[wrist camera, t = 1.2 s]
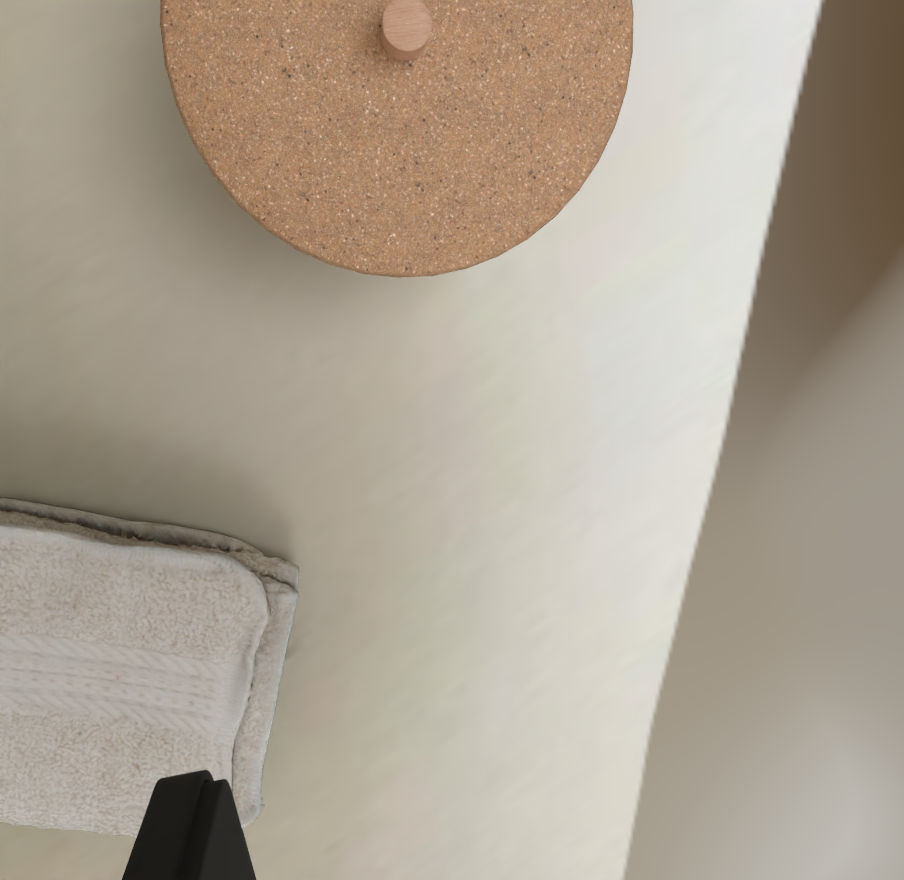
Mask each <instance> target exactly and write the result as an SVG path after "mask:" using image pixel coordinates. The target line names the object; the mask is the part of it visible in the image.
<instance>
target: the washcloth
mask: <svg viewBox="0 0 904 880" xmlns="http://www.w3.org/2000/svg"><path fill="white" fill-rule="evenodd" d="M298 582H299V567H298V566H296V565H295V564H294V563H292V562H291V561H284V560H282V559H280V558H278V557H274V558H268V557H266V556H265V555H264V554H263V553H262V552H260V551H258V550H257V549H256V548H255V547H253V546H251V545H249V544H247V543H245V542H243V541H240V540H237V539H235V538H233V537H227V536H225V535H223V534H218V533H213V532H209V531H203V530H197V529H192V528H187V527H180V526H174V525H171V524H159V523H151V522H133V521H127V520H124V519H119V518H114V517H108V516H104V515H99V514H94V513H90V512H85V511H80V510H75V509H70V508H59V507H55V506H51V505H46V504H39V503H33V502H28V501H21V500H17V499H5V498H0V822H6V823H8V824H9V825H24V824H25V825H29V826H33V825H35V826H37V827H39V828H41V829H46V828H56V829H63V830H87V831H90V832H94V833H102V834H105V835H113V834H115V835H125V834H126V835H132V836H133V837H134V838H137V835H138V832H139V829H140V827H141V824H142V821H143V818H144V815H145V812H146V809H147V807H148V804H149V801H150V798H151V795H152V792H153V789H154V787H155V785H156V783H157V781H158V780H159V779H161V778H165V777H170V776H175V775H180V774H185V773H190V772H195V771H201V770H208V771H209V772H210V773H211V775H212V777H213V779H214V781H216V780H221V779H226V780H227V781H228V782H229V785H230V787H231V791H232V794H233V798H234V801H235V805H236V809H237V812H238V816H239V819H240V823H241V827H242V829H243V828H244V827H246V826H247V825H249V824H250V823H251V822H253V821H254V820H255V819H256V818H257V817H258V815H259V814H260V812H261V810H262V809H263V808H264V806H265V805H263V804H261V801H262V796H261V788H260V784H261V779H262V771H263V764H264V760H265V753H266V750H267V745H268V741H269V735H270V731H271V727H272V721H273V716H274V712H275V707H276V703H277V696H278V689H279V685H280V679H281V673H282V670H283V664H284V658H285V655H286V649H287V644H288V640H289V634H290V630H291V626H292V623H293V617H294V610H295V607H296V605H297V602H298V596H299V593H298V591H297V590H298Z"/></svg>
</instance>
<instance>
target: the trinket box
mask: <svg viewBox="0 0 904 880" xmlns="http://www.w3.org/2000/svg"><path fill="white" fill-rule="evenodd" d="M160 27H161V35H162V43H163V51H164V58H165V66H166V70H167V73H168V77H169V80H170V84H171V88H172V91H173V95H174V98H175V102H176V105H177V108H178V110H179V112H180V115H181V117H182V119H183V121H184V124H185V126H186V128H187V130H188V133H189V135H190V137H191V140H192V142H193V144H194V145H195V147H196V148H197V150H198V152H199V153H200V155H201V156H202V158H203V160H204V161H205V163H206V164H207V166H208V168H209V169H210V171H211V172H212V174H213V176H214V177H215V178H216V179H217V180H218V182H219V183H220V184H221V185H222V186H223V187H224V189H225V190H226V191H227V192H228V193H229V195H230V196H231V197H232V198H233V199H234V200H235V202H236V203H237V204H238V205H239V206H240V207H241V208H242V209H243V210H245V211H246V212H247V213H248V214H249V215H250V216H251V217H252V218H254V219H255V220H256V221H257V222H258V223H259V224H260V225H262V226H263V227H264V228H265V229H266V230H267V231H269V232H271V233H272V234H274V235H275V236H277V237H278V238H280V239H281V240H283V241H285V242H286V243H288V244H289V245H291V246H292V247H294V248H295V249H297V250H299V251H301V252H303V253H306V254H308V255H310V256H312V257H315V258H317V259H319V260H321V261H324V262H326V263H328V264H330V265H334V266H338V267H341V268H345V269H349V270H352V271H356V272H360V273H363V274H371V275H381V276H390V277H417V276H434V275H438V274H443V273H448V272H452V271H457V270H462V269H466V268H469V267H471V266H474V265H477V264H479V263H482V262H484V261H487V260H490V259H492V258H495V257H497V256H499V255H501V254H503V253H504V252H506V251H508V250H510V249H511V248H513V247H515V246H516V245H518V244H520V243H522V242H523V241H525V240H527V239H528V238H529V237H531V236H532V235H533V234H534V233H536V232H537V231H538V230H539V229H541V228H542V227H543V226H544V225H546V224H547V223H548V222H549V221H550V220H552V219H553V218H554V217H555V216H556V215H557V214H558V213H559V212H560V211H561V210H562V209H563V207H564V206H565V205H566V204H567V203H568V202H569V201H570V200H571V199H572V198H573V196H574V195H575V194H576V193H577V192H578V191H579V190H580V188H581V187H582V185H583V184H584V182H585V181H586V179H587V178H588V176H589V175H590V173H591V172H592V170H593V169H594V167H595V166H596V164H597V163H598V161H599V159H600V157H601V155H602V153H603V151H604V149H605V147H606V145H607V143H608V140H609V138H610V136H611V134H612V132H613V130H614V128H615V125H616V122H617V119H618V116H619V112H620V109H621V106H622V103H623V100H624V96H625V93H626V89H627V83H628V77H629V71H630V64H631V58H632V52H633V6H632V0H161V8H160Z"/></svg>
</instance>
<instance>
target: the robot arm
mask: <svg viewBox="0 0 904 880" xmlns="http://www.w3.org/2000/svg"><path fill="white" fill-rule="evenodd" d="M122 880H256V877H255V873H254V870H253V866H252V863H251V859H250V855H249V852H248V848H247V845H246V841H245V837H244V834H243V830H242V827H241V823H240V819H239V816H238V812H237V809H236V805H235V801H234V798H233V794H232V791H231V787H230V785H229V782H228V781H227V780H226V779H221V780H216V781H214V779H213V777H212V775H211V773H210V772H209V771H208V770H201V771H195V772H190V773H185V774H180V775H175V776H170V777H165V778H161V779H159V780H158V781H157V783H156V785H155V787H154V789H153V792H152V795H151V798H150V801H149V804H148V807H147V809H146V812H145V815H144V818H143V821H142V824H141V827H140V829H139V832H138V835H137V838H136V841H135V844H134V847H133V849H132V852H131V855H130V858H129V861H128V864H127V867H126V869H125V872H124V875H123V878H122Z"/></svg>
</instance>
